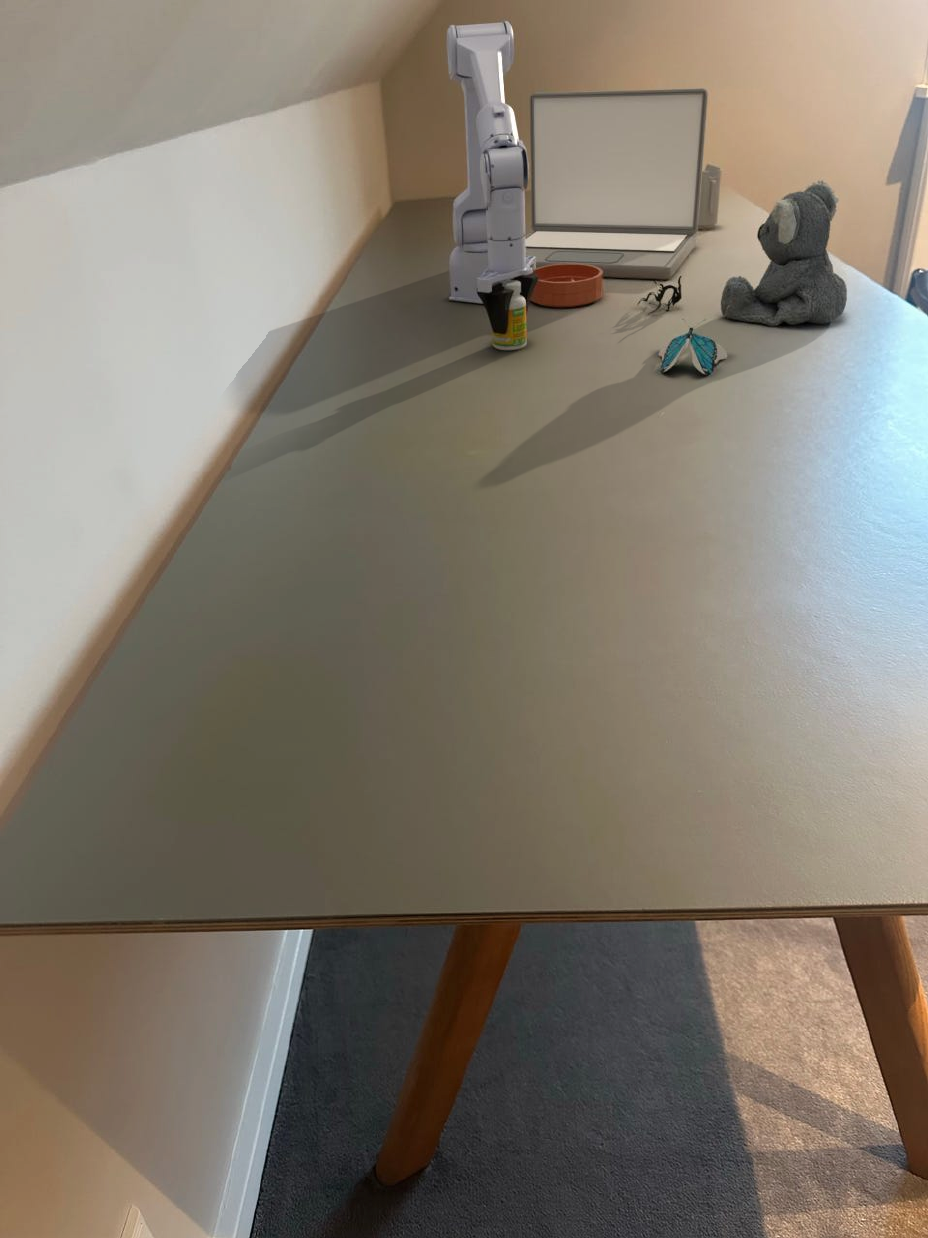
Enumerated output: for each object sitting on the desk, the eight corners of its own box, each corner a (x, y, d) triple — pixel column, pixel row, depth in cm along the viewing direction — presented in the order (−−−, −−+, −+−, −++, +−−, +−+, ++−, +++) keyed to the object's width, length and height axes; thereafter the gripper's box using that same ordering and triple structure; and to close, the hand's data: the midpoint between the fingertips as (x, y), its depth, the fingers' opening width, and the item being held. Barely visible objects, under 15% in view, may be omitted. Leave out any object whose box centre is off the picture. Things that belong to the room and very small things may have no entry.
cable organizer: (699, 218, 217) (703, 161, 210) (723, 229, 207) (728, 169, 200) (672, 222, 216) (675, 164, 209) (694, 232, 206) (699, 172, 199)
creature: (637, 321, 159) (685, 311, 157) (632, 290, 157) (680, 279, 154) (640, 308, 166) (685, 297, 163) (634, 277, 163) (681, 266, 160)
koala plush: (767, 294, 164) (782, 172, 153) (866, 311, 153) (889, 181, 142) (711, 318, 155) (723, 190, 144) (812, 338, 144) (833, 201, 133)
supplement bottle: (516, 352, 146) (514, 289, 141) (486, 348, 149) (483, 285, 143) (532, 342, 150) (531, 279, 145) (503, 338, 152) (501, 276, 147)
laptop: (489, 273, 187) (482, 109, 171) (533, 241, 208) (531, 92, 192) (669, 281, 175) (680, 105, 159) (696, 245, 196) (709, 87, 180)
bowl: (515, 304, 168) (514, 278, 166) (550, 285, 177) (549, 260, 175) (581, 312, 162) (582, 285, 160) (614, 292, 171) (614, 266, 169)
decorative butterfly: (648, 349, 132) (660, 311, 138) (647, 388, 137) (659, 350, 143) (721, 353, 129) (731, 314, 135) (718, 393, 134) (727, 353, 140)
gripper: (505, 249, 133) (508, 344, 141) (552, 227, 143) (553, 317, 151) (463, 245, 137) (468, 338, 144) (512, 224, 147) (515, 312, 154)
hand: (509, 327), depth 148 cm, fingers closed on supplement bottle, 5 cm apart
